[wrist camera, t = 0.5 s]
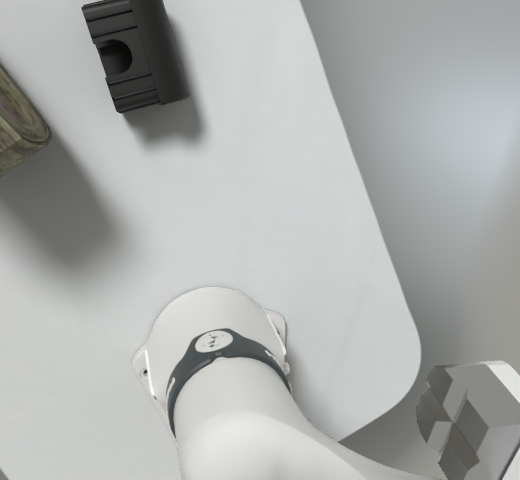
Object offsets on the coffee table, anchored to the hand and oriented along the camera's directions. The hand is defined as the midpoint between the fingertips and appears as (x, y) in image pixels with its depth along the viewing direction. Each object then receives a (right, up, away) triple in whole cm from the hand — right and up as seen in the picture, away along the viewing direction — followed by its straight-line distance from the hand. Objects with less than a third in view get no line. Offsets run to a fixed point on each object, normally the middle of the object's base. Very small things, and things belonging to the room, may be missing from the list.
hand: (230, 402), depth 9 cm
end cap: (-12, +22, +41) cm, 48 cm away
